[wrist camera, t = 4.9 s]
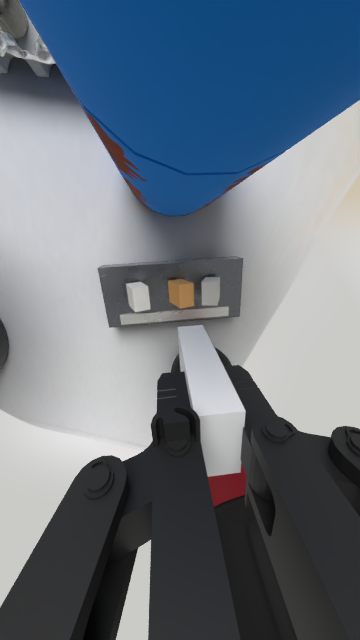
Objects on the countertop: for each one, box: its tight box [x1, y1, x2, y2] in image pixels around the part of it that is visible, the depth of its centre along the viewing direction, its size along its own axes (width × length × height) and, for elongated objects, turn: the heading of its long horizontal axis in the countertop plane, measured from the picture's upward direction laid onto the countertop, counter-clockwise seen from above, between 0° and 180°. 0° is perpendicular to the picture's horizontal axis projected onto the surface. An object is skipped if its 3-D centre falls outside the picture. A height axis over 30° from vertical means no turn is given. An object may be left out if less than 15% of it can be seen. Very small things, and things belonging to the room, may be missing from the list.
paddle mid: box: [168, 279, 194, 309], centre depth 22 cm, size 2×2×3 cm
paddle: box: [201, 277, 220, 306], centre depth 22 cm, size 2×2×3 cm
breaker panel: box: [98, 257, 243, 328], centre depth 25 cm, size 16×7×3 cm, turn 93°
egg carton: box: [0, 0, 55, 77], centre depth 16 cm, size 11×8×4 cm
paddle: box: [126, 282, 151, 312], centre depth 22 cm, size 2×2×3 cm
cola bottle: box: [171, 347, 297, 640], centre depth 17 cm, size 8×8×30 cm
